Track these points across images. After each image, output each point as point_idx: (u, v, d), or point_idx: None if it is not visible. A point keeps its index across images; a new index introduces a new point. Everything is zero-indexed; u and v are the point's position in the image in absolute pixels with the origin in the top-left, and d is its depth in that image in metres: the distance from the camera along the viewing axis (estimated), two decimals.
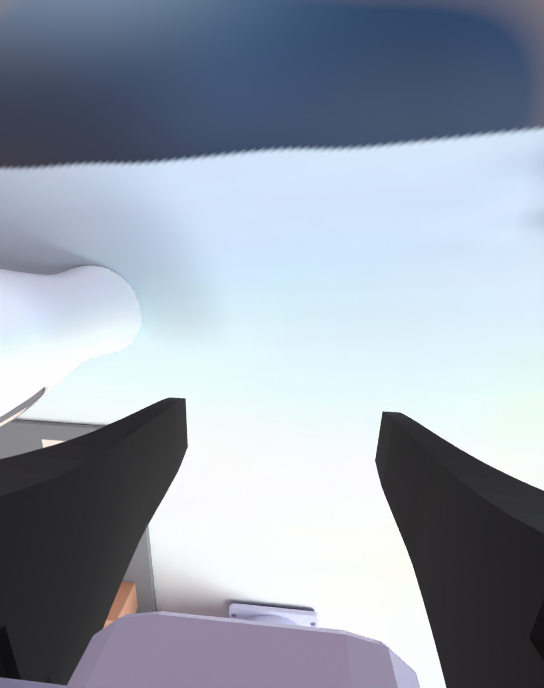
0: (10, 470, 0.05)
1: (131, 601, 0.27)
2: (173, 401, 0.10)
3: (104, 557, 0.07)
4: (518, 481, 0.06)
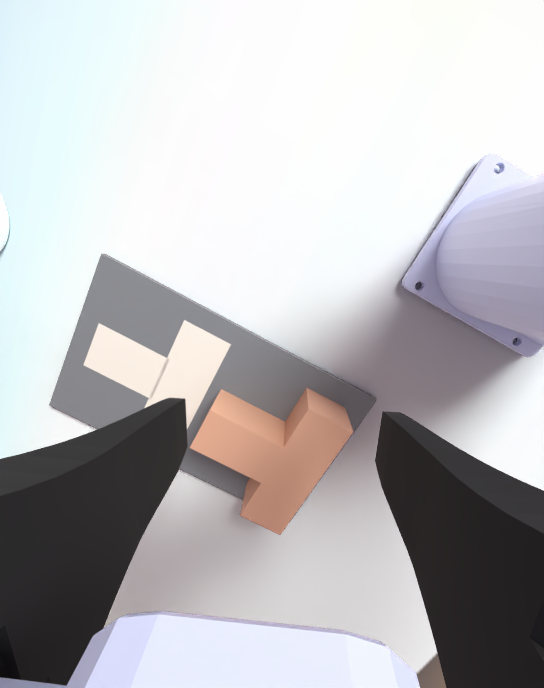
0: (10, 470, 0.05)
1: (321, 400, 0.20)
2: (173, 401, 0.10)
3: (104, 557, 0.07)
4: (518, 481, 0.06)
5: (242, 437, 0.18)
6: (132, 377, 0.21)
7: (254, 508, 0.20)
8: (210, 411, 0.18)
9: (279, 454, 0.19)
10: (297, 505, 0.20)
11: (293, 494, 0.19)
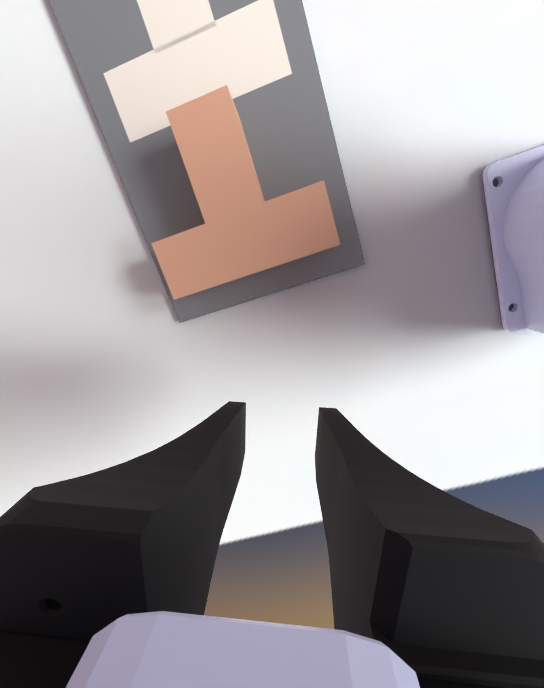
0: (131, 480, 0.05)
1: None
2: (237, 405, 0.10)
3: (201, 566, 0.07)
4: (408, 473, 0.06)
5: (232, 151, 0.14)
6: (156, 5, 0.15)
7: (173, 247, 0.15)
8: (226, 87, 0.13)
9: (251, 206, 0.15)
10: (219, 280, 0.16)
11: (226, 264, 0.16)
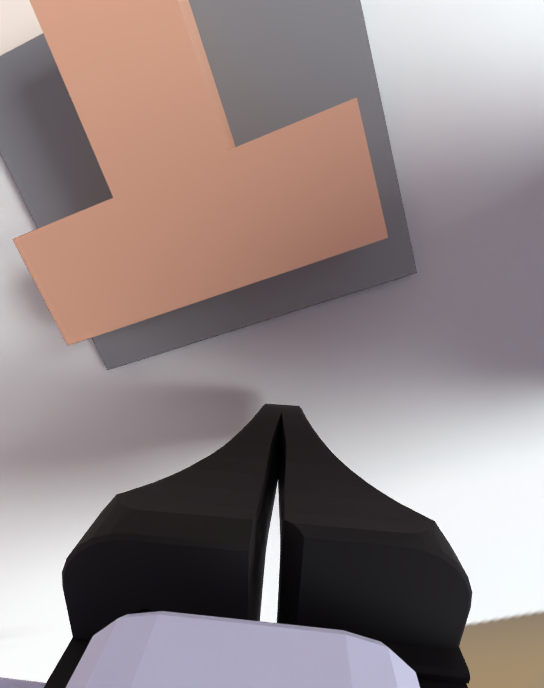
0: (206, 486, 0.05)
1: None
2: (275, 408, 0.10)
3: (260, 572, 0.07)
4: (344, 468, 0.06)
5: (158, 35, 0.06)
6: None
7: (56, 247, 0.08)
8: None
9: (205, 160, 0.07)
10: (149, 310, 0.08)
11: (161, 280, 0.08)
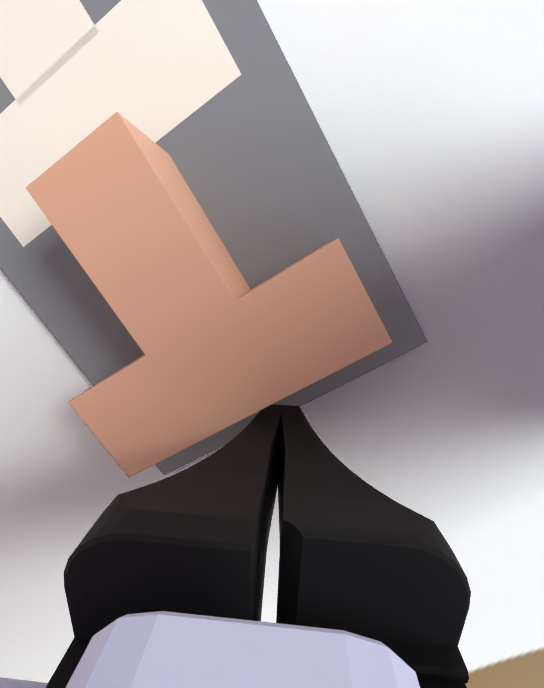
0: (207, 486, 0.05)
1: None
2: (276, 408, 0.10)
3: (262, 572, 0.07)
4: (344, 468, 0.06)
5: (159, 226, 0.08)
6: None
7: (105, 402, 0.09)
8: (117, 117, 0.07)
9: (217, 311, 0.08)
10: (193, 437, 0.09)
11: (198, 412, 0.09)
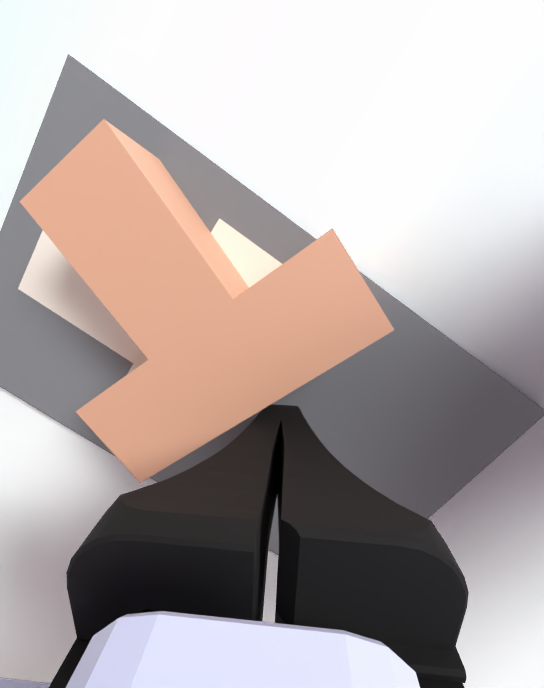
0: (209, 486, 0.05)
1: None
2: (277, 408, 0.10)
3: (263, 572, 0.07)
4: (342, 467, 0.06)
5: (153, 230, 0.08)
6: (107, 322, 0.12)
7: (111, 408, 0.09)
8: (104, 124, 0.07)
9: (216, 311, 0.08)
10: (201, 438, 0.09)
11: (204, 413, 0.09)
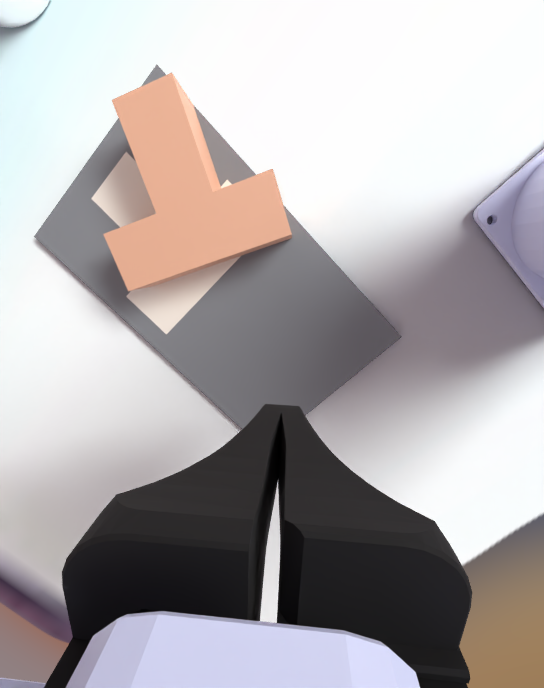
0: (206, 486, 0.05)
1: None
2: (275, 408, 0.10)
3: (261, 572, 0.07)
4: (345, 468, 0.06)
5: (180, 139, 0.14)
6: None
7: (125, 238, 0.15)
8: (171, 75, 0.13)
9: (202, 196, 0.15)
10: (173, 271, 0.16)
11: (179, 255, 0.15)
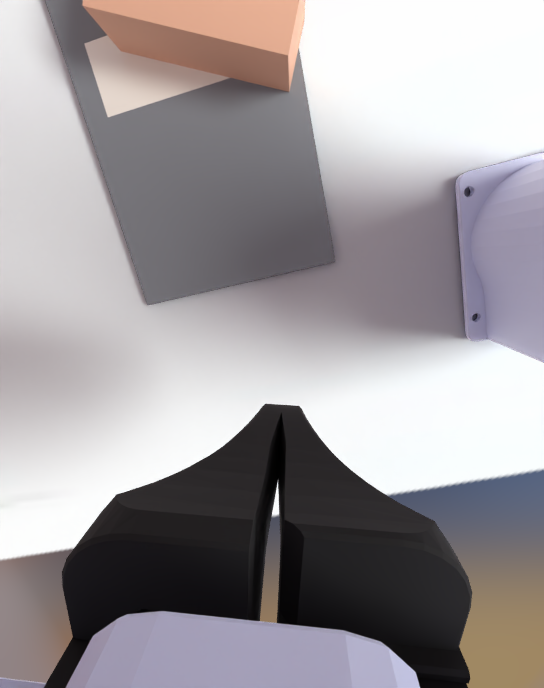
0: (206, 486, 0.05)
1: (298, 36, 0.15)
2: (275, 408, 0.10)
3: (260, 572, 0.07)
4: (345, 468, 0.06)
5: None
6: None
7: None
8: None
9: None
10: (144, 15, 0.13)
11: (160, 0, 0.13)
